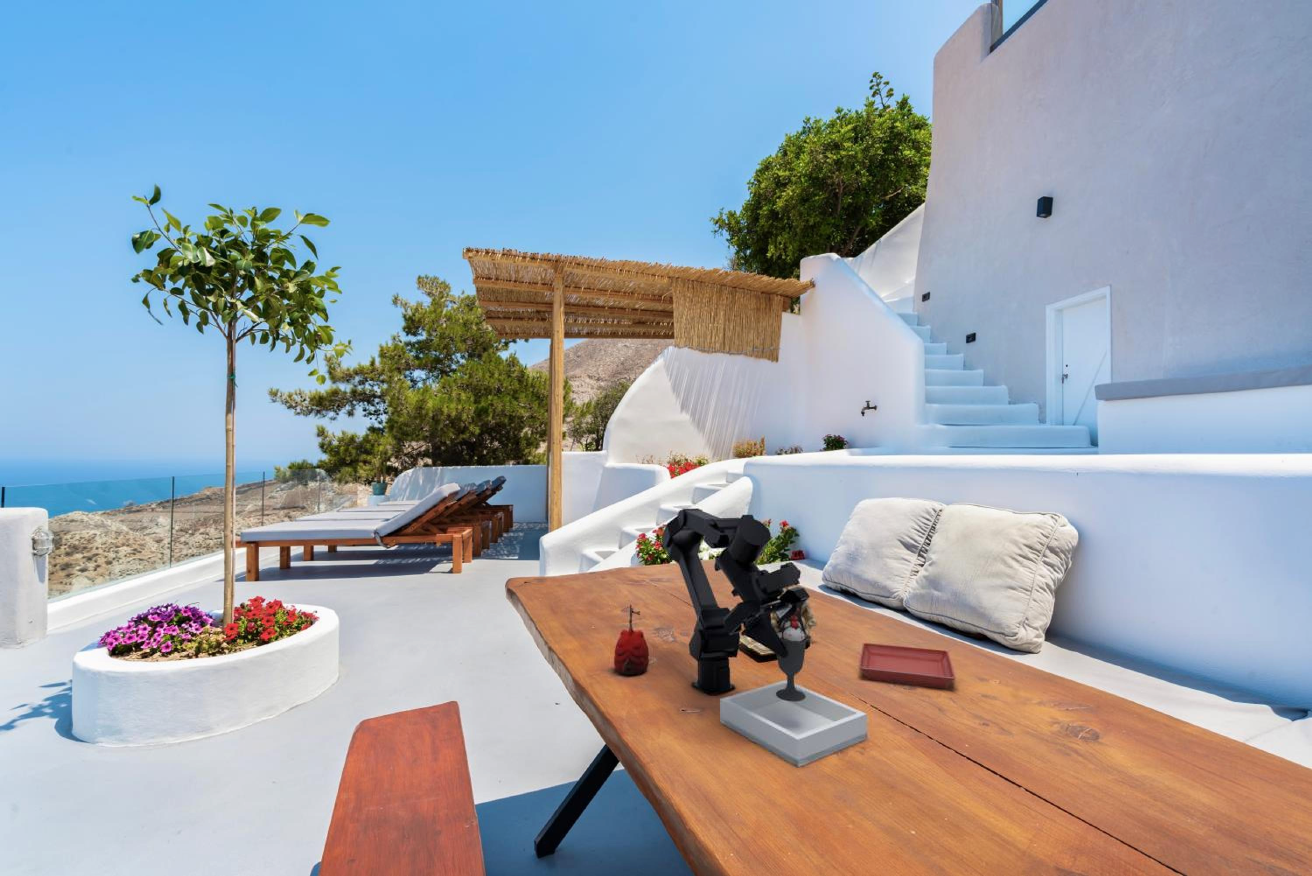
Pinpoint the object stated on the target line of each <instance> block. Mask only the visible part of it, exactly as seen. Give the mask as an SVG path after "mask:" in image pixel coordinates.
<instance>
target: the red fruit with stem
mask: <svg viewBox="0 0 1312 876" xmlns="http://www.w3.org/2000/svg"><path fill="white" fill-rule="evenodd" d="M628 608H629V620H628V624H629V629H628V630H627V629H622V630H621V631H620V636H619V638H618V639H617V641H616V643H615V648H614V658H613V665H614V667H615V669H616V671H617V672H619V673H620V674H621V675H625V676H626V675H627V676H637V675H641V674H642V673H645V672H646V670H647V669H648V666H649V663H650V659H649V656H650V654H649V653H650V652H649V646H648V644H647V641H646V639H645V636H644V632H643V631H642V630H634V629H633V624H632V623H633V620H632V618H633V614H635V615H638V616H641V611H640V610H638V611H635V610H634V609H633V608H632V604H629V606H628Z"/></svg>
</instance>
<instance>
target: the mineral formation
mask: <svg viewBox="0 0 1312 876" xmlns="http://www.w3.org/2000/svg"><path fill="white" fill-rule="evenodd" d="M795 587H796V585H791V586H789V587H786V588H783V590H784V592H783V593H782V594H781V595H779V596H778V599H779V598H780V597H781V596H782V595H783V594H784V593H785V592H786V591H787V590H788V589H792V588H795ZM801 617H802V621H803V625H804V628H805V631H806V634H807V635H809V636H810V637H811V635H810V632H811V631H812V627H814V628H815V627H816V626H817V625H818V622H817V620H816V619H815V618H814V614H813V612H812V611H811V606H810V602H809V601H808V600H807V601H806V602H805V603H804V605H803V606H802V610H801ZM779 619H780V618H779V616H777V615H776V614H775V612H774V613H771V624H772V626H773V628H774V629H775V631H777V630H778V627H779V625H778V624H777V623H776V622H777V621H778V620H779Z"/></svg>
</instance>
